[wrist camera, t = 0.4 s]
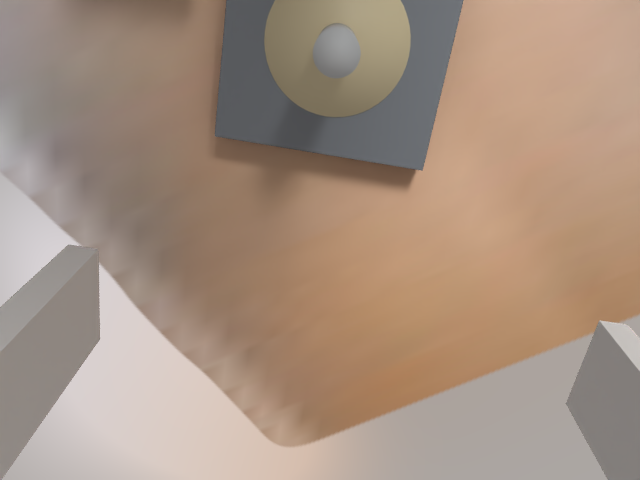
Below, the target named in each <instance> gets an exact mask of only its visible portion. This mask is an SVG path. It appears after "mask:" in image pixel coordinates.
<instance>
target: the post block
mask: <svg viewBox="0 0 640 480" xmlns="http://www.w3.org/2000/svg"><path fill="white" fill-rule="evenodd" d="M462 4H463V0H227V1H226V12H225V24H224V35H223V47H222V58H221V70H220V81H219V93H218V104H217V116H216V127H215V136H216V137H222V138H228V139H235V140H241V141H247V142H253V143H259V144H265V145H271V146H277V147H283V148H289V149H295V150H301V151H307V152H313V153H319V154H325V155H331V156H337V157H343V158H349V159H356V160H362V161H368V162H374V163H380V164H386V165H392V166H398V167H404V168H410V169H416V170H422V171H423V166H424V162H425V158H426V154H427V150H428V146H429V141H430V137H431V133H432V129H433V125H434V121H435V116H436V112H437V108H438V104H439V100H440V96H441V91H442V87H443V83H444V79H445V75H446V71H447V67H448V62H449V58H450V54H451V50H452V46H453V42H454V37H455V33H456V29H457V25H458V21H459V17H460V12H461V8H462Z"/></svg>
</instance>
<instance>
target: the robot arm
mask: <svg viewBox="0 0 640 480" xmlns="http://www.w3.org/2000/svg"><path fill="white" fill-rule="evenodd" d="M99 340H100V319H99V258H98V249H95V248H88V247H81V246H74V245H68V246H66V247H65V249H63V250H62V251H61V252H60V253H59V254H58V255H57V256H56V257H55V258H53V259H52V260H51V261H50V262H49V263H48V264H47V265H46V266H45V267H44V268H43V269H41V270H40V272H38V273H37V274H36V275H35V276H34V277H33V278H32V279H31V280H29V282H27V283H26V284H25V285H24V286H23V287H22V288H21V289H20V290H19V291H17V292H16V293H15V294H14V295H13V296H12V297H11V298H10V299H9V300H8V301H7V302H6V303H5V304H3V305H2V306H1V307H0V480H2V478H3V476H4V475H5V474H6V473H7V471H8V470H9V468H10V467H11V466H12V464H13V463H14V461H15V460H16V458H17V457H18V456H19V454H20V453H21V451H22V450H23V448H24V447H25V445H26V444H27V443H28V441H29V440H30V438H31V437H32V435H33V434H34V433H35V431H36V430H37V428H38V427H39V425H40V424H41V423H42V421H43V420H44V418H45V417H46V415H47V414H48V413H49V411H50V410H51V408H52V407H53V405H54V404H55V403H56V401H57V400H58V398H59V397H60V395H61V394H62V392H63V391H64V390H65V388H66V387H67V385H68V384H69V382H70V381H71V380H72V378H73V377H74V375H75V374H76V372H77V371H78V370H79V368H80V367H81V365H82V364H83V362H84V361H85V360H86V358H87V357H88V355H89V354H90V352H91V351H92V350H93V348H94V347H95V345H96V344H97V342H98V341H99ZM566 405H567V406H568V408H569V410H570V412H571V414H572V416H573V417H574V419H575V421H576V423H577V425H578V426H579V428H580V430H581V432H582V434H583V435H584V437H585V439H586V441H587V443H588V445H589V446H590V448H591V450H592V452H593V454H594V455H595V457H596V459H597V461H598V463H599V464H600V466H601V468H602V470H603V471H604V474H605V475H606V477H607V479H608V480H640V338H639V337H638V336H637V335H636V334H635V332H634V331H633V330H632V329H631V328H630V327H629V326H628V325H626V324H620V323H613V322H606V321H599V322H598V325H597V327H596V330H595V332H594V335H593V337H592V340H591V342H590V345H589V347H588V350H587V353H586V355H585V357H584V360H583V362H582V365H581V368H580V370H579V372H578V375H577V377H576V380H575V382H574V385H573V387H572V390H571V393H570V395H569V397H568V400H567V402H566Z"/></svg>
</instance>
